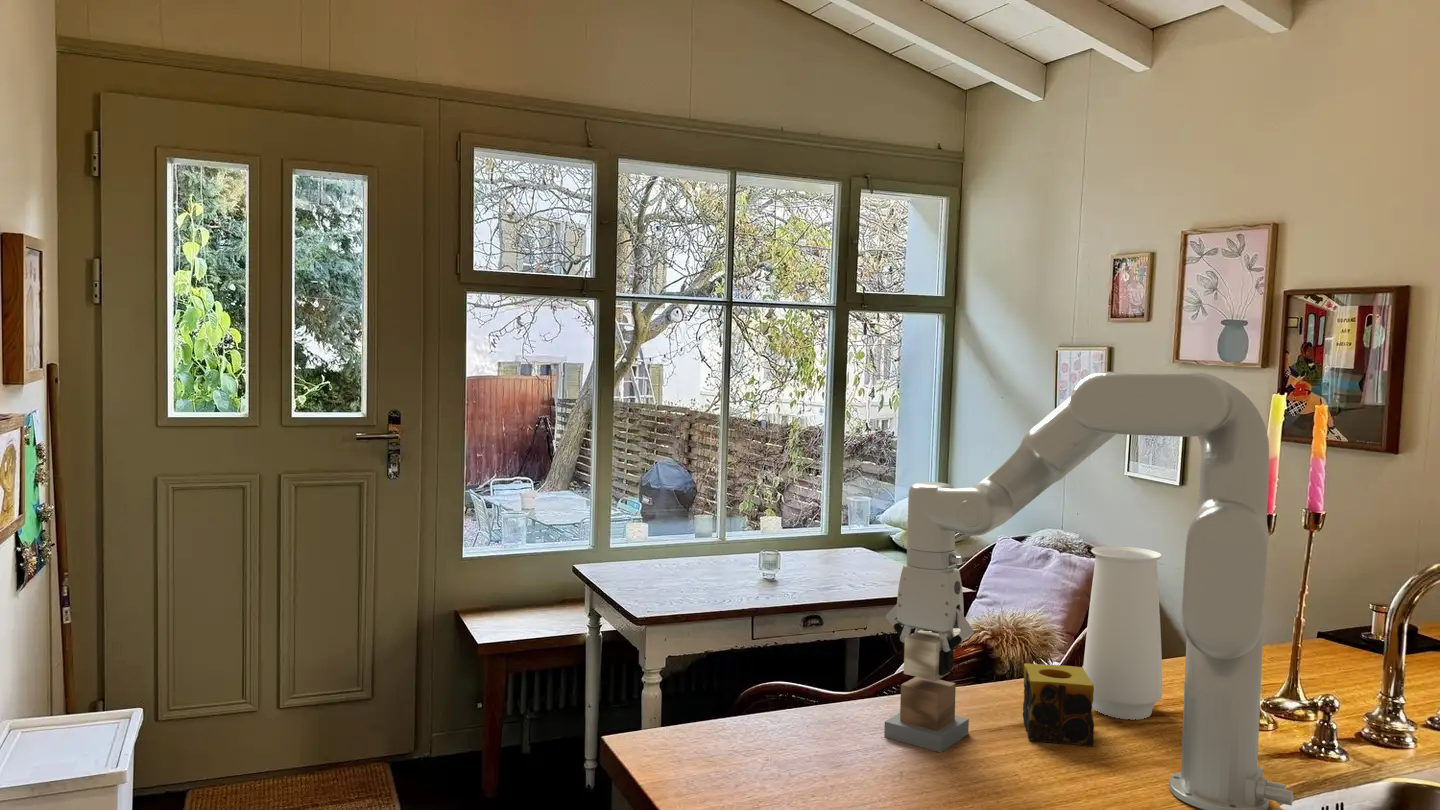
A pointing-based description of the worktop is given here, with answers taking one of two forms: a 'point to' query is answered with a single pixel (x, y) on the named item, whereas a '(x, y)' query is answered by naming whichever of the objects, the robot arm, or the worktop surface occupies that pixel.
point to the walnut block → (927, 703)
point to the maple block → (922, 655)
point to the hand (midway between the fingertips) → (927, 668)
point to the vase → (1124, 632)
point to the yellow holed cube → (1058, 704)
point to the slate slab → (927, 733)
